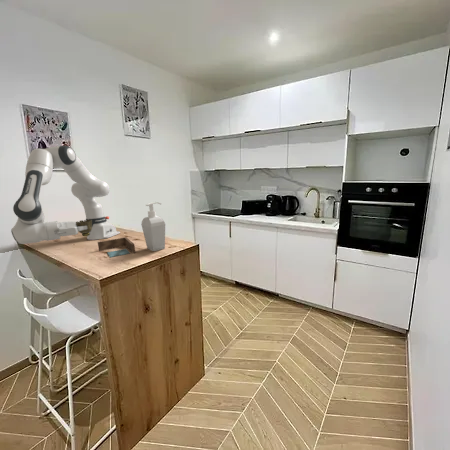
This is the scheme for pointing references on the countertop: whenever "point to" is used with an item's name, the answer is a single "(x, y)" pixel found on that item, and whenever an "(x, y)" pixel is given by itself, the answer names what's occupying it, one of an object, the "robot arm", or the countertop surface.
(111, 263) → the countertop surface
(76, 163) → the robot arm
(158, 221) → the soap bottle
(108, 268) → the countertop surface
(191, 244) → the countertop surface
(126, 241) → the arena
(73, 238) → the countertop surface
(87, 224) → the cup
